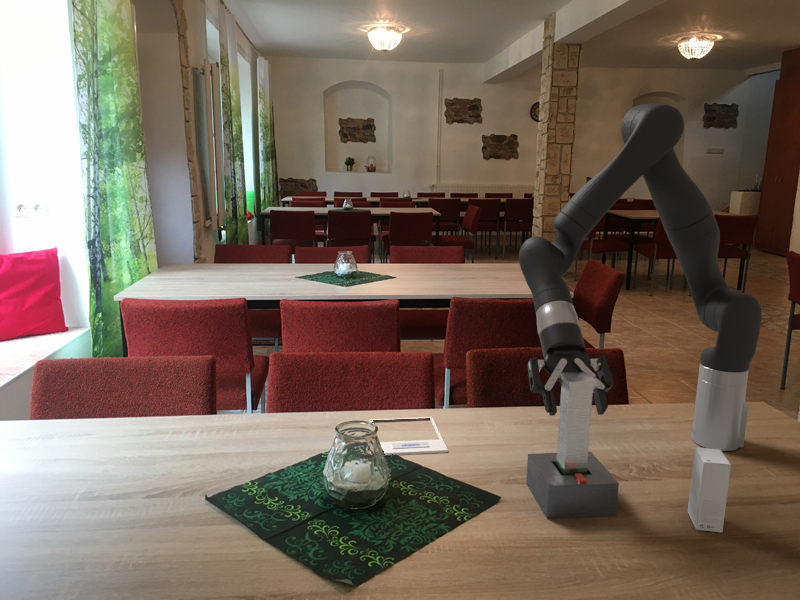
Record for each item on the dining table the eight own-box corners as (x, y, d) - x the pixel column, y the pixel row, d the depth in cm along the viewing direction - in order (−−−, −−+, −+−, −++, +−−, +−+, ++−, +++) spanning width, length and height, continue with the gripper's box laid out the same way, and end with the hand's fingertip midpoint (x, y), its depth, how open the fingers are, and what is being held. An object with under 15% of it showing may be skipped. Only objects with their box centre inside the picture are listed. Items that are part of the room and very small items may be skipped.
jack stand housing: (588, 481, 119) (591, 449, 118) (615, 515, 108) (619, 480, 106) (526, 483, 118) (528, 451, 117) (546, 518, 107) (549, 482, 105)
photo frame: (377, 452, 129) (369, 418, 147) (377, 457, 129) (369, 423, 147) (447, 449, 131) (432, 415, 148) (447, 454, 131) (432, 420, 149)
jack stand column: (579, 462, 114) (586, 372, 111) (589, 475, 110) (596, 381, 106) (553, 463, 114) (559, 372, 110) (562, 476, 109) (568, 381, 106)
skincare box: (723, 533, 103) (732, 465, 100) (695, 530, 104) (703, 462, 101) (713, 514, 109) (721, 448, 106) (686, 511, 109) (693, 446, 107)
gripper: (526, 321, 113) (543, 405, 105) (603, 320, 115) (626, 403, 106) (517, 341, 120) (531, 423, 111) (590, 340, 121) (610, 421, 112)
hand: (578, 413), depth 108 cm, fingers open, 8 cm apart
